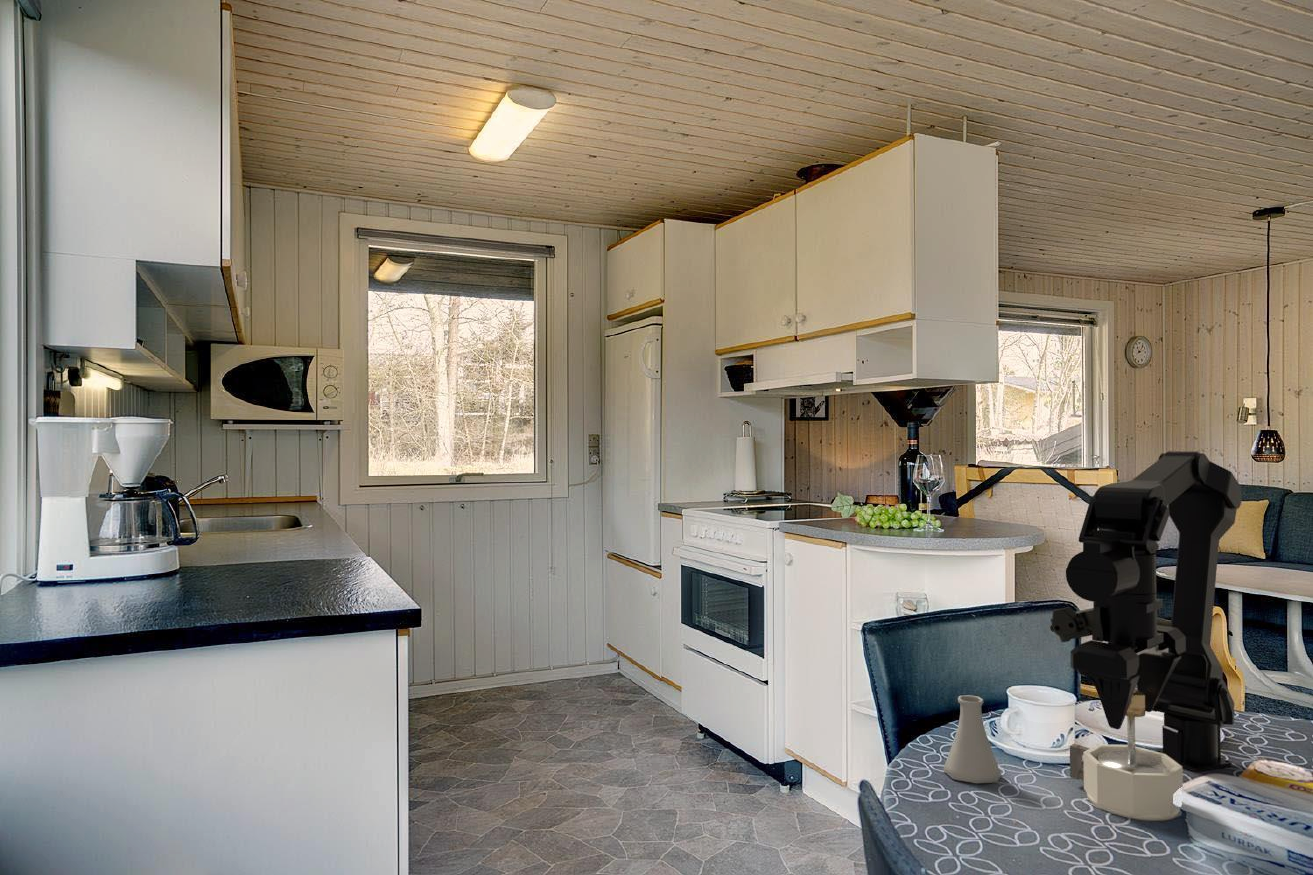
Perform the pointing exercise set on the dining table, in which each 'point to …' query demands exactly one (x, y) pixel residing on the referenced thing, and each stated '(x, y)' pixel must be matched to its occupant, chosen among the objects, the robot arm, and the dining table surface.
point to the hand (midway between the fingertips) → (1131, 719)
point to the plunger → (1133, 745)
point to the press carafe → (1127, 783)
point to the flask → (971, 746)
